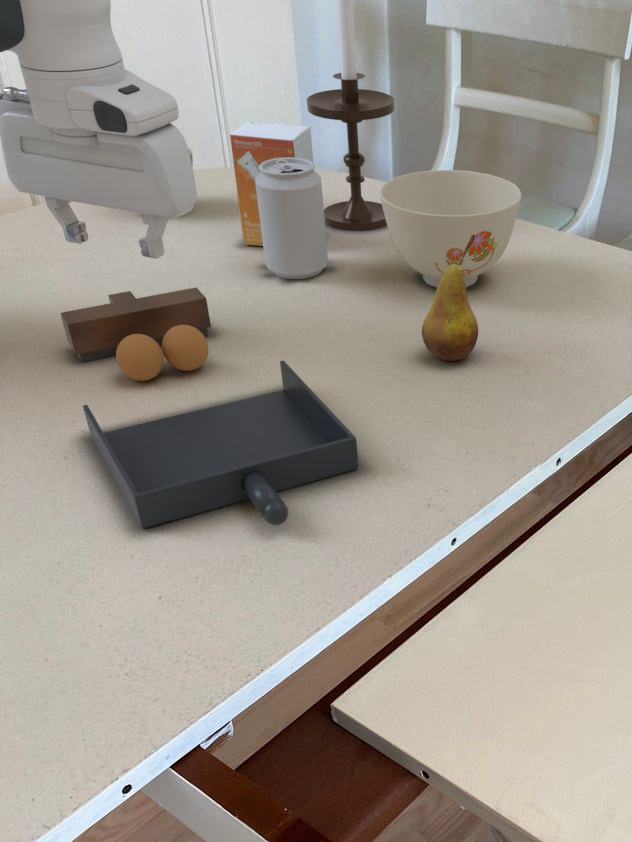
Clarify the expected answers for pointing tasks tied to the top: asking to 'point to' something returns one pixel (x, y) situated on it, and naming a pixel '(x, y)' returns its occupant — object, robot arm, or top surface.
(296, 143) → the small box
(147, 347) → the ball left
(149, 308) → the brush
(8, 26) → the robot arm
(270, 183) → the can
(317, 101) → the candlestick
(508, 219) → the bowl
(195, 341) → the ball right
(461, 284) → the fruit
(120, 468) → the dustpan
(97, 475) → the top surface
